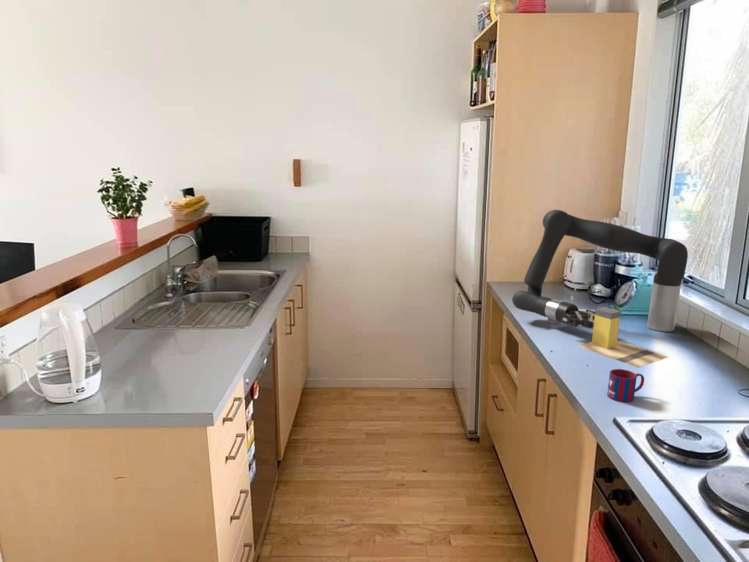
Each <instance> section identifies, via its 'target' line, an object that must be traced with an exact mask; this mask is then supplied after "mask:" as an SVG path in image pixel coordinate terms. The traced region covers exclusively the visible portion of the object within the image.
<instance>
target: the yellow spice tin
mask: <svg viewBox="0 0 749 562" xmlns="http://www.w3.org/2000/svg"><path fill="white" fill-rule="evenodd" d="M594 310H595V319H594V321H593V323H594V324H593V328H592V339H591V342H592V344H595V345H598V346H601V347H604V348H607V349H608V348H611V347H614V346H616V345H617V340H618V335H619V327H620V319H621V314H622V311H620V310H617V309H614V308H610V307H606V306H603V307H599V308H595V309H594Z"/></svg>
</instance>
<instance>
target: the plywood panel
mask: <svg viewBox="0 0 749 562" xmlns="http://www.w3.org/2000/svg"><path fill="white" fill-rule="evenodd" d="M577 347H579V348H581V349H584V350H587V351H590V352H594V353H596V354H598V355H602V356H604V357H608V358H610V359H612V360H616V361H619V362H622V363H624V364H627V365H630V366H632V367H636V368H641V367H643V366H646V365H649V364H652V363H656V362H658V361H661V360H663V359H667V358H669V356H668V355H665V354H661V353H658V352H655V351H652V350H649V349H645V348H643V347H640V346H636V345H634V344H631V343H629V342H625V341H621V340H618V339H617V345H616V346H614V347H611V348H608V349H607V348H604V347H601V346H598V345H595V344H592V341H588V342H586V343H582V344H578V345H577Z"/></svg>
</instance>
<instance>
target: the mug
mask: <svg viewBox="0 0 749 562" xmlns="http://www.w3.org/2000/svg"><path fill="white" fill-rule="evenodd" d="M637 377H640V383H639V385H638V386H637V387H636V385H637ZM644 383H645V376H644V375H643V374H641V373H635V372H633V371H632V370H628V369H622V368H614V369H611V370H609V377H608V386H607V393H606V395H607V397H608V398H609V399H611V400H613V401H616V402H620V403H630V402H633V401H634V399H635V393H637V392H638V391H640V390H641V389H642V388H643V387H644V385H645V384H644Z"/></svg>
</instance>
